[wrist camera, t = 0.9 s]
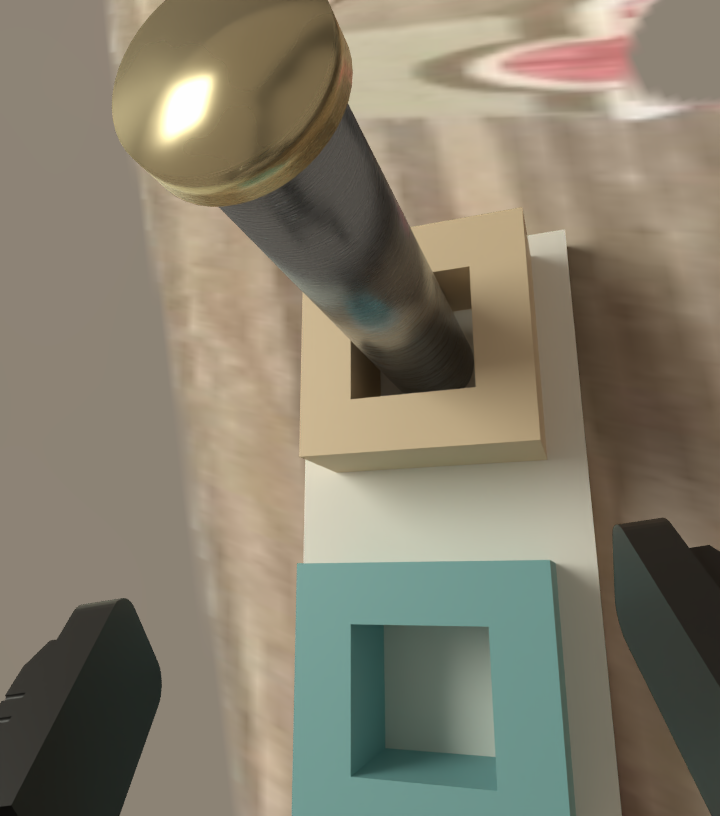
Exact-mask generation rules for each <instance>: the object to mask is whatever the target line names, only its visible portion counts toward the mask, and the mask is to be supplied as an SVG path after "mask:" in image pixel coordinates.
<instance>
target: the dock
mask: <svg viewBox="0 0 720 816" xmlns="http://www.w3.org/2000/svg"><path fill="white" fill-rule="evenodd" d="M410 228H411V230H412V232H413V234H414V236H415V238H416V240H417V242H418V244H419V246H420V248H421V250H422V252H423V254H424V256H425V258H426V260H427V262H428V264H429V266H430V268H431V270H432V272H433V274H434V276H435V278H436V280H437V282H438V284H439V286H440V288H441V289H442V291H443V293H444V295H445V297H446V299H447V301H448V303H449V305H450V307H451V309H452V311H453V313H454V315H455V317H456V319H457V321H458V323H459V325H460V327H461V329H462V331H463V333H464V335H465V337H466V339H467V341H468V343H469V345H470V347H471V350H472V353H473V358H474V368H473V373H472V376H471V378H470V381H469V382H468V384H467V386H466V387H465V388H461V389H451V390H441V391H431V392H420V393H410V394H403V393H402V392H401V391H400V390H399V389H398V388H397V387H396V386H395V385H394V384H393V383H392V382H391V381H390V380H389V379H388V378H387V377H386V376H385V375H384V374H383V373H382V372H381V371H380V370H379V369H378V368H377V367H376V366H375V365H374V363H373V362H372V361H371V360H370V359H369V358H368V357H367V356H366V355H365V354H364V353H363V352H362V351H361V350H360V349H359V348H358V347H357V346H356V345H355V344H354V343H353V342H352V341H351V340H350V339H349V338H348V337H347V336H346V335H345V334H344V333H343V332H342V331H341V330H340V329H339V328H338V327H337V326H336V325H335V324H334V323H333V322H332V321H331V320H330V319H329V318H328V317H327V316H326V315H325V314H324V313H323V312H322V311H321V310H320V309H319V308H318V307H317V306H316V305H315V304H314V303H313V302H312V301H311V300H310V299H309V298H308V297H307V296H306V295H305V294H304V293H303V303H302V351H301V399H300V447H299V457H301V458H303V459H305V514H304V563H297V590H296V638H295V686H294V733H293V781H292V816H622V812H621V801H620V791H619V781H618V770H617V760H616V750H615V740H614V729H613V719H612V709H611V698H610V688H609V678H608V668H607V657H606V647H605V637H604V627H603V616H602V606H601V596H600V585H599V575H598V565H597V555H596V544H595V534H594V524H593V513H592V503H591V493H590V483H589V472H588V462H587V452H586V442H585V431H584V421H583V411H582V400H581V390H580V380H579V370H578V359H577V349H576V339H575V328H574V318H573V308H572V298H571V287H570V277H569V267H568V257H567V246H566V236H565V229H564V230H558V231H552V232H546V233H540V234H534V235H528V236H527V232H526V226H525V220H524V215H523V209H522V207H520V208H515V209H509V210H504V211H498V212H493V213H487V214H481V215H476V216H470V217H465V218H459V219H454V220H448V221H443V222H437V223H432V224H426V225H421V226H415V227H410Z"/></svg>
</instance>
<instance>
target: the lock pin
mask: <svg viewBox="0 0 720 816" xmlns="http://www.w3.org/2000/svg"><path fill="white" fill-rule="evenodd" d="M352 75H353V70H352V59H351V55H350V51H349V47H348V45H347V42H346V40H345V38H344V35H343V33H342V31H341V29H340V27H339V24H338V22H337V20H336V18H335V15H334V13H333V11H332V9H331V6H330V4H329V2H328V0H165V1H164V2H163V3H162V4H161V5H160V6H159V7H158V8H157V9H156V10H155V11H154V12H153V13H152V14H151V15H150V17H149V18H148V19H147V20H146V21H145V23H144V24H143V25H142V27H141V28H140V29H139V31H138V32H137V34H136V35H135V37H134V38H133V40H132V41H131V43H130V45H129V47H128V49H127V51H126V53H125V54H124V57H123V59H122V62H121V64H120V66H119V69H118V73H117V76H116V79H115V84H114V89H113V96H112V113H113V122H114V126H115V130H116V133H117V135H118V138H119V140H120V142H121V144H122V145H123V147H124V148H125V150H126V152H127V153H128V154H129V155H130V156H131V157H132V158H133V159H134V160H135V161H136V162H137V163H138V164H139V165H140V166H142V167H143V168H144V169H145V170H146V171H147V172H148V173H149V174H150V175H151V176H152V177H153V178H154V179H156V180H157V181H158V182H159V183H160V184H161V185H162V186H163V187H164V188H165V189H166V190H168V191H169V192H170V193H172V194H173V195H174V196H176V197H178V198H180V199H182V200H184V201H186V202H190V203H193V204H196V205H202V206H210V207H219V208H220V209H221V210H222V211H223V212H224V213H225V214H226V215H227V216H228V217H229V218H230V219H231V220H232V221H233V222H234V223H235V224H236V225H237V226H238V227H239V228H240V229H241V230H242V231H243V232H244V233H245V234H246V235H247V236H248V237H249V238H250V239H251V240H252V241H253V242H254V243H255V244H256V245H257V246H258V247H259V248H260V249H261V250H262V251H263V252H264V253H265V254H266V255H267V256H268V257H269V258H270V259H271V260H272V261H273V262H274V263H275V264H276V265H277V266H278V267H279V268H280V269H281V270H282V271H283V272H284V273H285V274H286V275H287V276H288V277H289V278H290V279H291V280H292V281H293V282H294V284H295V285H296V286H297V287H298V288H299V289H300V290H301V291H302V292H303V293H304V294H305V295H306V296H307V297H308V298H309V299H310V300H311V301H312V302H313V303H314V304H315V305H316V306H317V307H318V308H319V309H320V310H321V311H322V312H323V313H324V314H325V315H326V316H327V317H328V318H329V319H330V320H331V321H332V322H333V323H334V324H335V325H336V326H337V327H338V328H339V329H340V330H341V331H342V332H343V333H344V334H345V335H346V336H347V337H348V338H349V339H350V340H351V341H352V342H353V343H354V344H355V345H356V346H357V347H358V348H359V349H360V350H361V351H362V352H363V353H364V354H365V355H366V356H367V357H368V358H369V359H370V360H371V361H372V362H373V363H374V365H375V366H376V367H377V368H378V369H379V370H380V371H381V372H382V373H383V374H384V375H385V376H386V377H387V378H388V379H389V380H390V381H391V382H392V383H393V384H394V385H395V386H396V387H397V388H398V389H399V390H400V391H401V392H402V393H403V394H410V393H420V392H431V391H441V390H451V389H461V388H465V387H466V386H467V384H468V382H469V381H470V378H471V376H472V373H473V368H474V358H473V353H472V350H471V347H470V345H469V343H468V341H467V339H466V337H465V335H464V333H463V331H462V329H461V327H460V325H459V323H458V321H457V319H456V317H455V315H454V313H453V311H452V309H451V307H450V305H449V303H448V301H447V299H446V297H445V295H444V293H443V291H442V289H441V288H440V286H439V284H438V282H437V280H436V278H435V276H434V274H433V272H432V270H431V268H430V266H429V264H428V262H427V260H426V258H425V256H424V254H423V252H422V250H421V248H420V246H419V244H418V242H417V240H416V238H415V236H414V234H413V232H412V230H411V228H410V226H409V224H408V222H407V220H406V218H405V216H404V214H403V212H402V210H401V208H400V206H399V204H398V202H397V200H396V198H395V196H394V194H393V192H392V190H391V188H390V186H389V184H388V182H387V180H386V178H385V176H384V174H383V172H382V170H381V168H380V166H379V164H378V162H377V160H376V158H375V156H374V154H373V152H372V151H371V149H370V147H369V145H368V143H367V141H366V139H365V137H364V135H363V133H362V131H361V129H360V127H359V125H358V123H357V121H356V119H355V117H354V115H353V113H352V111H351V109H350V107H349V105H348V101H349V96H350V92H351V87H352Z"/></svg>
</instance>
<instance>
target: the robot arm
mask: <svg viewBox="0 0 720 816" xmlns="http://www.w3.org/2000/svg"><path fill="white" fill-rule="evenodd" d="M613 562H614V587H615V604H616V611H617V616H618V620H619V624H620V627H621V630H622V633H623V636H624V638H625V641H626V643H627V645H628V647H629V649H630V651H631V653H632V655H633V657H634V659H635V661H636V663H637V665H638V667H639V669H640V671H641V673H642V675H643V677H644V679H645V681H646V683H647V685H648V688H649V690H650V692H651V694H652V696H653V698H654V700H655V702H656V704H657V706H658V708H659V710H660V712H661V714H662V716H663V718H664V720H665V722H666V724H667V726H668V728H669V730H670V732H671V734H672V736H673V738H674V740H675V742H676V744H677V746H678V748H679V750H680V752H681V755H682V757H683V759H684V761H685V763H686V765H687V767H688V769H689V771H690V773H691V775H692V777H693V779H694V781H695V783H696V785H697V787H698V789H699V791H700V793H701V795H702V797H703V799H704V801H705V803H706V805H707V807H708V809H709V811H710V813H711V815H712V816H720V551H718V550H716V549H715V548H713V547H712V546H710V545H706V546H700V547H693V548H689V547H688V546H687V544H686V543H685V542H684V540H683V539H682V538H681V536H680V535H679V534H678V532H677V531H676V530H675V528H674V527H673V526H672V524H671V523H670V522H669V521H668V520H667V519H665V518H658V519H651V520H644V521H638V522H631V523H625V524H618V525H615V526H614V528H613ZM161 681H162V680H161V671H160V667H159V664H158V661H157V660H156V656H155V654H154V652H153V650H152V647H151V645H150V643H149V640H148V638H147V636H146V634H145V631H144V629H143V626H142V624H141V622H140V620H139V617H138V615H137V613H136V610H135V608H134V606H133V604H132V603H131V602H130V601H129V600H128V599H125V598H121V599H115V600H108V601H102V602H95V603H90V604H89V603H88V604H83V605H80V606H78V607H77V608H76V609H75V610H74V612H73V613H72V615H71V617H70V618H69V620H68V622H67V623H66V625H65V627H64V629H63V630H62V632H61V634H60V635H59V637H58V639H57V640H51V641H49V642H48V643H47V644H46V645H45V646H44V647H43V648H42V649H41V650H40V651H39V652H38V653H37V654H36V655H35V656H34V657H33V658H32V659H31V660H30V661H29V662H28V663H27V664H25V665H24V667H23V668H22V669H21V671H20V673H19V674H18V676H17V677H16V679H15V681H14V682H13V684H12V685H11V687H10V689H9V690H8V692H7V694H6V695H5V696H6V700H5V701H2V702H1V703H0V816H119V815H120V812H121V809H122V807H123V804H124V801H125V798H126V796H127V793H128V790H129V787H130V784H131V781H132V779H133V776H134V773H135V770H136V767H137V764H138V761H139V759H140V756H141V753H142V750H143V747H144V745H145V742H146V739H147V736H148V733H149V730H150V728H151V725H152V722H153V719H154V716H155V714H156V710H157V708H158V705H159V702H160V697H161V688H162V684H161V683H162V682H161Z"/></svg>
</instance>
